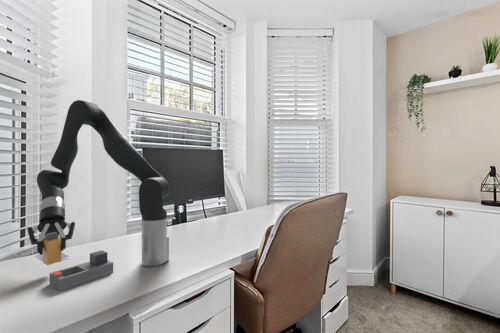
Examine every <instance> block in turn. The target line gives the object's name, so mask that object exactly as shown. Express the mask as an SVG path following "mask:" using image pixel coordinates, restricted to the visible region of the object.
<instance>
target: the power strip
mask: <svg viewBox="0 0 500 333" xmlns="http://www.w3.org/2000/svg"><path fill="white" fill-rule="evenodd" d="M110 274H114V262H113V261H109V260H108V251H104V250H98V251H95V252H91V253H89V261H87V262H84V263H83V262H82V263H79V264H77V265H73V266H70V267H65V268H63V269H60V270H56V271H52V272H50V273H49V285H51V287H52V288H54V289H56V290H58V291H59V290H60V292H61V290H62V291H64V289H65V290H67V288H68V289H70V288H73V287H76V286H78V284H79V285H81V283H82V284H84V283H87V282H89V281H93V280H96V279H100V278H102V277H105V276H107V275H110ZM75 285H76V286H75ZM72 286H73V287H72Z"/></svg>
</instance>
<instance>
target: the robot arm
mask: <svg viewBox="0 0 500 333" xmlns="http://www.w3.org/2000/svg"><path fill="white" fill-rule="evenodd" d="M63 124H64V125H63V129H62V133H61V138H60V140H59V142H58V146H57V148H56V149H55V152H54V154H53V156H52V158H51V160H50V165H51V166H52V167H53V168H55V169H57V170H59V171H60V172H59V171H56V170H50V169H42V170H41V171H40V172H39V173H38V174H37V176H36V182H37V187H38V190H39V191H40V194H41V202H40V207H39V221H38V222H39V223H38V224H37V226H35V227H32V226H29V227H27V229H26V230H27V234H28V237H29V241H30V244H31V246H33V245H34V246H35V245H37V246H36V251H37V254H40V255H41V254H43V239H45V234H47V233H52V232H57V233H58V238H61V252H64V250H65V249H66V247H67V244H66V243H67V242H66V241H68V240H72V238H73V235H74V232H75V228H76V223H75V221H72V222H71V223H70V222H67V221H66V204H65V192H64V190H63V189H65V188H67V187H68V185H69V182H70V181H69V180H70V172H71V168H72V165H73V164H74V162H75V159H76V157H77V155H78V150H79V145H78V135H79V132H80V130H81V128H83V125H84V126H85V125H86V126H90V127H91V128H92V129H94V130H95V131H96V133H98V134H99V135H100V137H101V140H102V143H103V148H104V150H105V152H106V154H108V156H109V157H110V158H111V159H112V160H113V161H114V162H115V164H117V165H118V166H119V167H120V168H122V169H124V170H125V171H127V172H129V173H130V174H132V175H133V176H135V177H136V178H137V179H138V180H139V181H140V182H141V183H140V185H139V188H138V207H139V209H138V210H139V213H140V214H141V215H140V216H141V265H142V266H144V267H158V266H162V265H164V264H165V263H166V262H167V261H169V260H170V236H168V212H167V210H166V209H164V206H163V199H166V198H167V197H168V196H169V195H170V192H171V186H170V183H169V182H168V180H166V178H164V176H162V175H161V174H160V173H159V172H158V171H157V170H156V169H154V168H153V167H152V165H150V164H149V163H148V161H147V160H146V159H145V158H144V157H143V156H142V154H141V153H140V152H139V151H138V150H137V148H136V147H135V146H134V145H133V144H132V143H131V142H130V140H128V139H127V138H126V137H125V135H123V133H122V132H121V131H120V130H119V129H118V128H117V127H116V126H115V125H114V123H113V122H112V121H111V120H110V118H109V116H108V115H107V114H106V113H105V111H104V110H103V109H102V107H100V106H99V105H98V104H96V103H94V102H89V101H87V100H82V99H77V100H74V101H73V102H72V103H71V104H70V105H69V107H68V110H67V113H66V117H65V121H64V123H63ZM66 227H67V229H68V231H67V234H65V232H64V230H65V229H66ZM37 231H38V232H39V233H40V234H39V237H38V238H36V237H35V234H36V233H37Z"/></svg>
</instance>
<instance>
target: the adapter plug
mask: <svg viewBox="0 0 500 333" xmlns="http://www.w3.org/2000/svg"><path fill="white" fill-rule="evenodd" d="M61 252H62V251H61V238H59V236H58V233H57V232H52V233H47V234H45V239H43V260H42V263H43V264H44V265H46V266H49V265H54V264H57V263H60V262H62V260H61Z"/></svg>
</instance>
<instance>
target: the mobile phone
mask: <svg viewBox="0 0 500 333" xmlns="http://www.w3.org/2000/svg"><path fill="white" fill-rule="evenodd" d="M35 257H36V258H38V259H40V260H42V261H43V254H41V255H40V253H37V254H36V256H35ZM67 258H69V259H70V258H71V256H70V255H68V254H66V253H64V252H63V251H61V261H65V260H68V259H67ZM64 259H65V260H64Z"/></svg>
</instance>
